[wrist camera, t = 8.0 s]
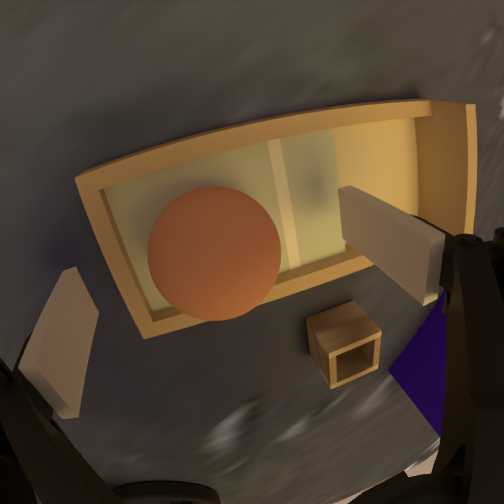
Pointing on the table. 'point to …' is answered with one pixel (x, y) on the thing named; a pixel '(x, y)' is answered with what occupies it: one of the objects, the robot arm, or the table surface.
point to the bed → (288, 188)
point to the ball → (214, 253)
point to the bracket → (426, 367)
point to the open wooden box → (343, 343)
